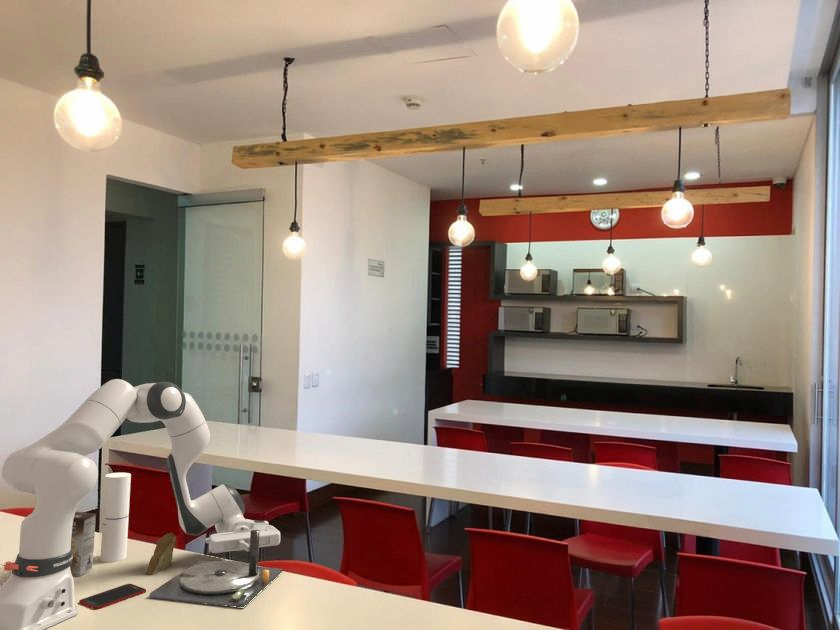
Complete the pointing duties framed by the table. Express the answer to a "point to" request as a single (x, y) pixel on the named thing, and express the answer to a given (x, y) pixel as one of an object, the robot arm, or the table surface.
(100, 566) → the table surface
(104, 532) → the cylindrical container
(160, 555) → the rock
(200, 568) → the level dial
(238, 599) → the grey square base plate
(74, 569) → the coffee box
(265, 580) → the level mark
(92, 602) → the cell phone
